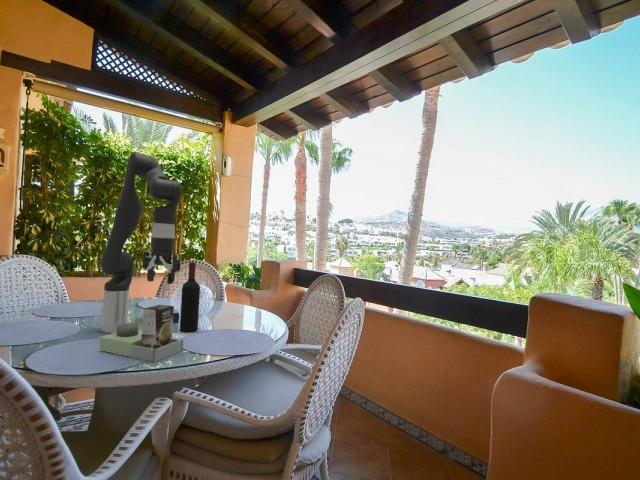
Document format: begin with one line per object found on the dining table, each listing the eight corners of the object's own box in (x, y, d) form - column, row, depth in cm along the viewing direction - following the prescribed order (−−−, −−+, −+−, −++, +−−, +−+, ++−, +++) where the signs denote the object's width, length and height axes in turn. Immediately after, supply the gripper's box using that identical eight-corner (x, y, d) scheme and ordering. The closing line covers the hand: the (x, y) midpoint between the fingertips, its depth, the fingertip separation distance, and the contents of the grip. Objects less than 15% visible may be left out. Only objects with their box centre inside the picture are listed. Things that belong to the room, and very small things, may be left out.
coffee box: (156, 357, 127) (158, 310, 127) (139, 355, 129) (142, 308, 129) (172, 349, 136) (174, 305, 136) (156, 347, 138) (159, 304, 138)
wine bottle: (180, 333, 160) (184, 263, 160) (178, 328, 167) (182, 261, 166) (199, 332, 164) (203, 263, 163) (196, 327, 170) (199, 261, 170)
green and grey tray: (99, 351, 132) (100, 328, 132) (131, 341, 145) (132, 320, 145) (154, 362, 124) (155, 338, 124) (182, 350, 137) (183, 329, 137)
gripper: (186, 238, 133) (184, 283, 133) (154, 235, 138) (152, 279, 138) (172, 237, 126) (169, 285, 126) (138, 235, 131) (136, 281, 131)
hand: (160, 282), depth 132 cm, fingers open, 8 cm apart
